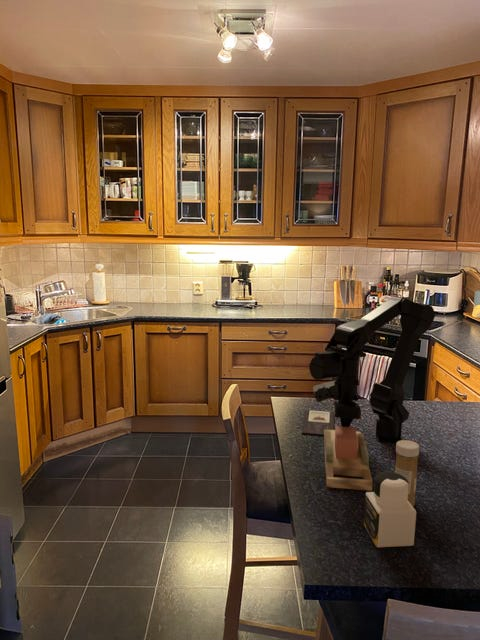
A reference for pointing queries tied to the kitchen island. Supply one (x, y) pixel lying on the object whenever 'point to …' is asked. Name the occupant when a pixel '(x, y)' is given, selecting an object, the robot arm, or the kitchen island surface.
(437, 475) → the kitchen island surface
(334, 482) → the beige tray
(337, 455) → the block
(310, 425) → the chocolate bar
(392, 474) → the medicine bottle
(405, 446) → the sprinkles bottle
